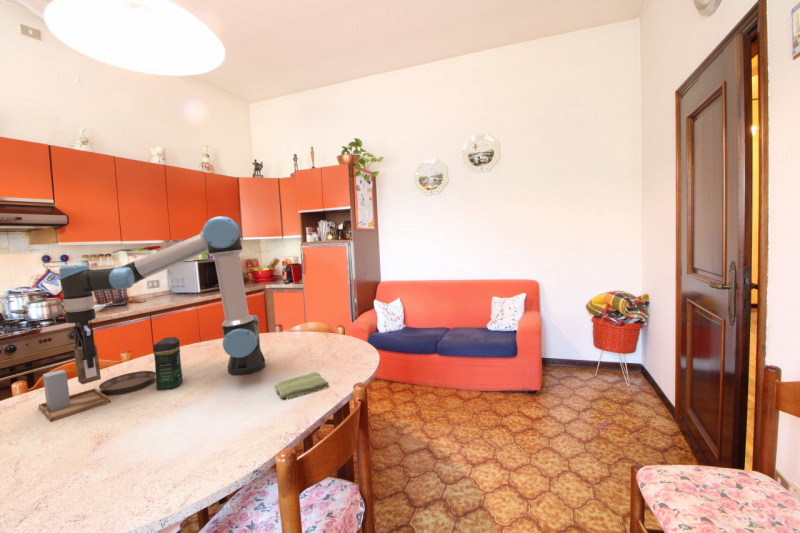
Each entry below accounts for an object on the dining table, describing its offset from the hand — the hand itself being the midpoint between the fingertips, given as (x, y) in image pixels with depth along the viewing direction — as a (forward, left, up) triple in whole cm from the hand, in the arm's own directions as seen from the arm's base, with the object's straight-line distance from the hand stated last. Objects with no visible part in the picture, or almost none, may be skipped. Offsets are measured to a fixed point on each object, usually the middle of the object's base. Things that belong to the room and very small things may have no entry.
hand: (89, 375), depth 121 cm
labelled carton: (0, 0, -2) cm, 2 cm away
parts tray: (+3, +4, -10) cm, 11 cm away
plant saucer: (+6, -13, -11) cm, 18 cm away
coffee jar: (-8, -22, -10) cm, 25 cm away
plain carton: (+6, +7, -10) cm, 14 cm away
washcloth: (-55, -47, -11) cm, 73 cm away
